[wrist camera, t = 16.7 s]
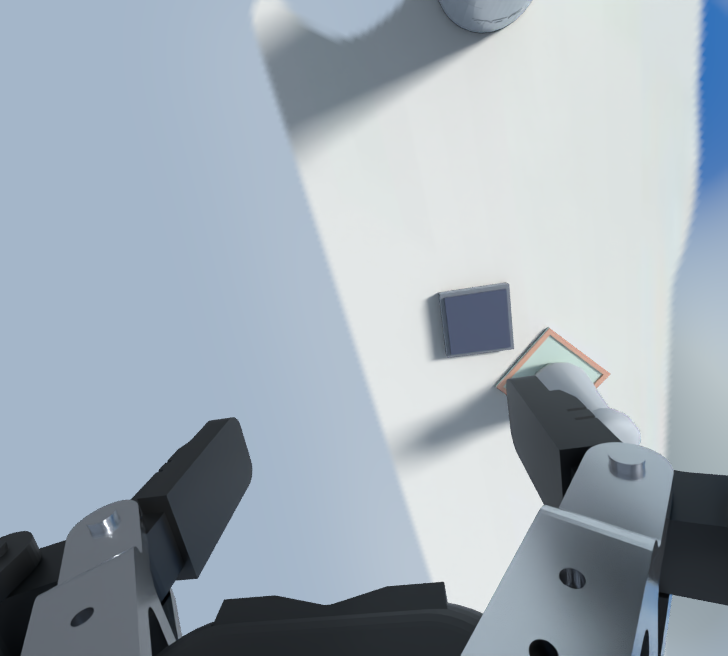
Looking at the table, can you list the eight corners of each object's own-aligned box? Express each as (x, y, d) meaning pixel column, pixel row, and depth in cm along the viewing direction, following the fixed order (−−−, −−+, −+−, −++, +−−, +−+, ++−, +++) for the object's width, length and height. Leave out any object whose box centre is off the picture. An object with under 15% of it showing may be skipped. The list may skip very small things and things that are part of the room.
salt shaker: (590, 368, 42) (673, 429, 30) (562, 412, 44) (630, 487, 31) (541, 347, 42) (604, 399, 29) (515, 391, 43) (564, 459, 31)
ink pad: (438, 292, 42) (440, 295, 40) (505, 282, 41) (510, 284, 39) (446, 354, 43) (447, 358, 42) (510, 345, 42) (515, 350, 41)
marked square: (495, 385, 44) (496, 387, 43) (548, 327, 42) (549, 328, 41) (553, 427, 45) (555, 430, 44) (608, 372, 42) (610, 373, 42)
